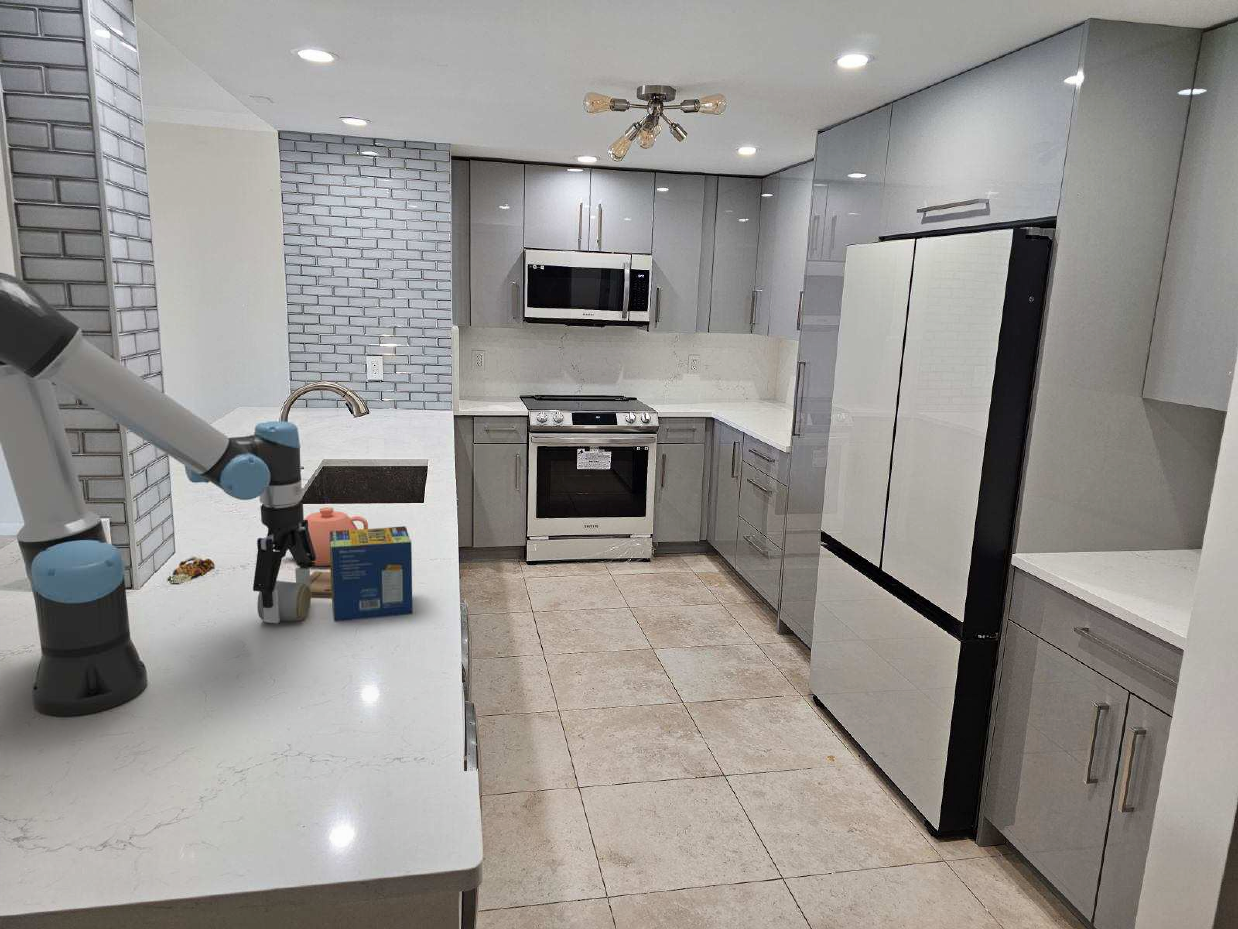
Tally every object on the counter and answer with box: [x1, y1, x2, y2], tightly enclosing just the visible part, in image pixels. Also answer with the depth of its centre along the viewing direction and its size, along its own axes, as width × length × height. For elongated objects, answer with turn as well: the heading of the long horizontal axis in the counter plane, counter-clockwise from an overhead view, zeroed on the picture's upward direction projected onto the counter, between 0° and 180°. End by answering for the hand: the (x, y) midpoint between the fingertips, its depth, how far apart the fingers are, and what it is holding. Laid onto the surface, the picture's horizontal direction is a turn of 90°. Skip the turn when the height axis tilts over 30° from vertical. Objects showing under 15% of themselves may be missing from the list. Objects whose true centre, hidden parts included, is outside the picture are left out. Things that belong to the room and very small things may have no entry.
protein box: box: [330, 525, 413, 622], centre depth 162 cm, size 10×15×16 cm
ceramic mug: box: [256, 580, 312, 621], centre depth 158 cm, size 11×8×8 cm
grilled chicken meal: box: [167, 556, 216, 585], centre depth 177 cm, size 7×12×4 cm, turn 5°
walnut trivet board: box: [310, 571, 332, 599], centre depth 173 cm, size 12×8×2 cm, turn 1°
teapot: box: [304, 506, 369, 567], centre depth 190 cm, size 22×16×12 cm
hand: (288, 609), depth 158 cm, fingers closed on ceramic mug, 11 cm apart
